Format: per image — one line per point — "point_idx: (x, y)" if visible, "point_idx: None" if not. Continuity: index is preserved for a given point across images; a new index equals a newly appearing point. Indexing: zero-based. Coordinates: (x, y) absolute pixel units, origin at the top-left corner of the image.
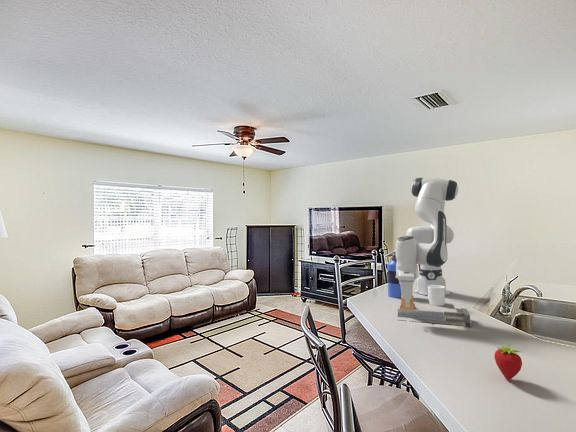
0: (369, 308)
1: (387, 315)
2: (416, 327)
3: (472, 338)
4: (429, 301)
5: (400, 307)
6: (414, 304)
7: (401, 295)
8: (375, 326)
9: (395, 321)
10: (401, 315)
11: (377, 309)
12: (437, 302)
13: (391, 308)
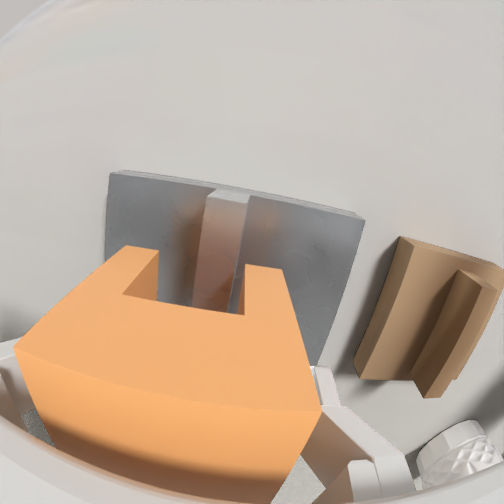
0: (469, 7)
1: (282, 85)
2: (27, 286)
3: (29, 424)
4: (470, 443)
5: (459, 262)
6: (423, 395)
7: (228, 411)
8: (14, 36)
9: (97, 151)
10: (160, 221)
11: (463, 52)
12: (429, 474)
13: (497, 186)
